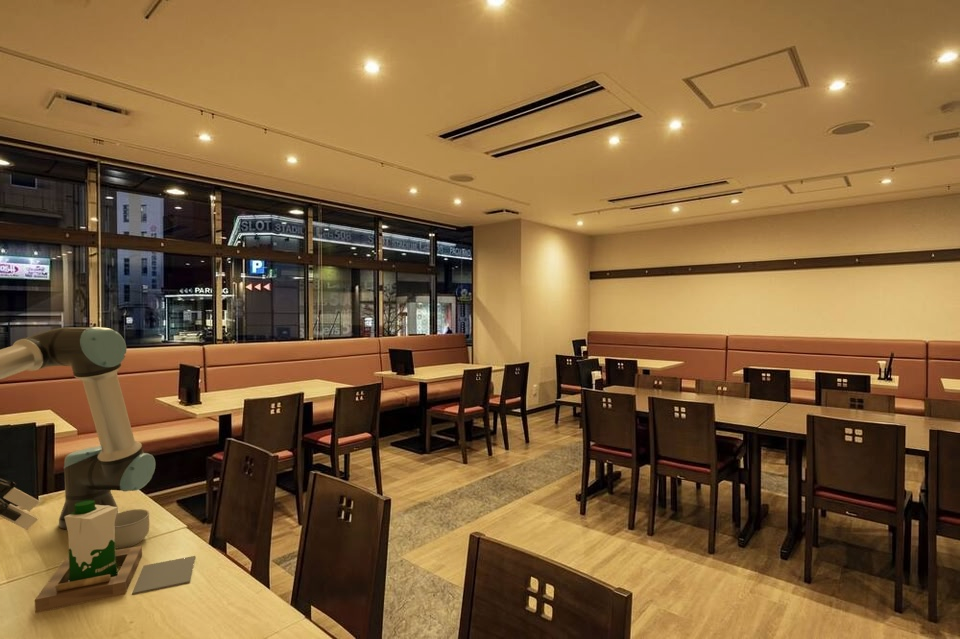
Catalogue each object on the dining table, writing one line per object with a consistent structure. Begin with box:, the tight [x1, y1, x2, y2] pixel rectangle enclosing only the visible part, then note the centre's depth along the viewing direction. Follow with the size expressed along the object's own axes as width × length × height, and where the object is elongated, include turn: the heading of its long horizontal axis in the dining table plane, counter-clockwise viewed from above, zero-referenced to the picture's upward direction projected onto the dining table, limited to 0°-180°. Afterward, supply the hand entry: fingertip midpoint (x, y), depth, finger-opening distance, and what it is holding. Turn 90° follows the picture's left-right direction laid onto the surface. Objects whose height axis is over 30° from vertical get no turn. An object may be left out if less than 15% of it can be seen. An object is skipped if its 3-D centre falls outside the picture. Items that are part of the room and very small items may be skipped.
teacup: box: [115, 508, 150, 549], centre depth 146 cm, size 14×11×8 cm
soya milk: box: [64, 500, 119, 582], centre depth 125 cm, size 9×9×20 cm
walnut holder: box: [34, 545, 143, 613], centre depth 125 cm, size 20×17×5 cm
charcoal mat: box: [131, 555, 196, 595], centre depth 128 cm, size 14×12×1 cm
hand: (33, 514), depth 117 cm, fingers open, 13 cm apart
